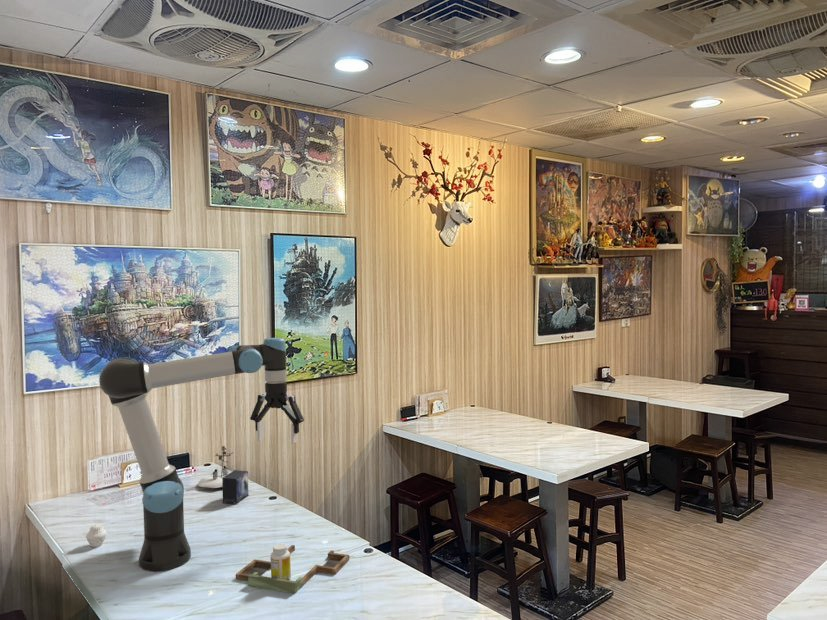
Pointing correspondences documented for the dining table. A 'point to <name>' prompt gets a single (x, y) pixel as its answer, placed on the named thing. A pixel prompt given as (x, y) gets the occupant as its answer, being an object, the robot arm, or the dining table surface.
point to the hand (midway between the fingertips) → (277, 441)
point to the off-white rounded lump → (96, 536)
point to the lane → (260, 567)
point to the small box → (235, 487)
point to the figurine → (215, 474)
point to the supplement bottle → (280, 562)
